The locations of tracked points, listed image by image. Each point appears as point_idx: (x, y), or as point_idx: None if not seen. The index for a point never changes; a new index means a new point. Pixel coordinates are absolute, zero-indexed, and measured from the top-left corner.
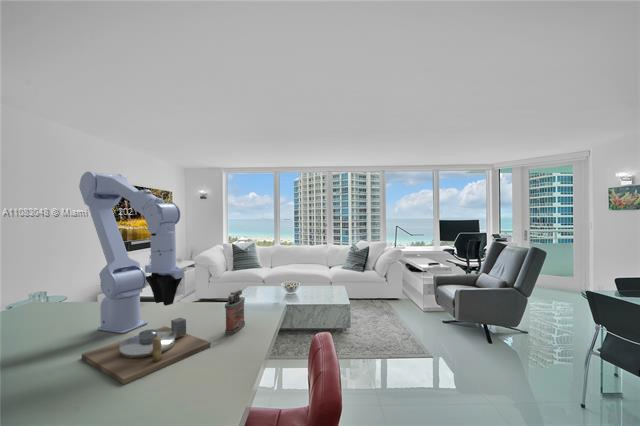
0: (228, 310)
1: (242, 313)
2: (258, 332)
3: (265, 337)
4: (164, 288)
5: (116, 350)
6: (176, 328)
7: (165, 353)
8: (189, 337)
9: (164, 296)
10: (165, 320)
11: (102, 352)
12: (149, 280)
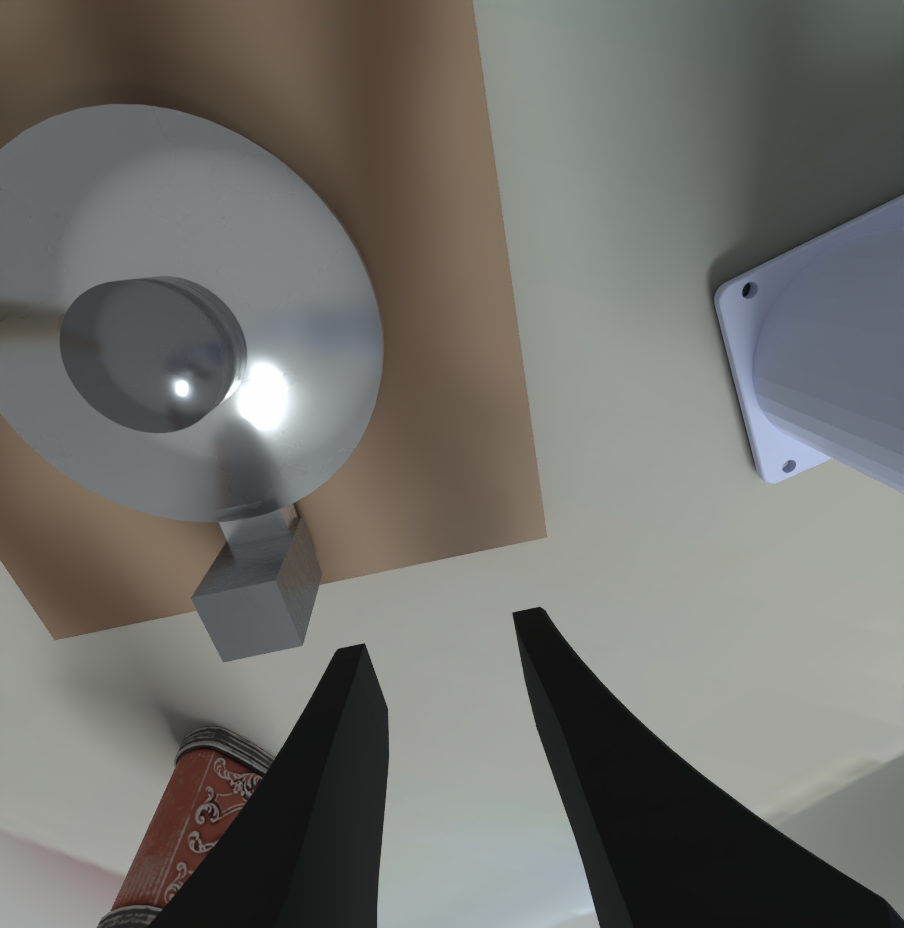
0: (123, 895)
1: None
2: (125, 825)
3: (36, 823)
4: (173, 896)
5: (307, 126)
6: (216, 564)
7: None
8: None
9: (286, 744)
10: (713, 571)
11: (344, 11)
12: (679, 922)
